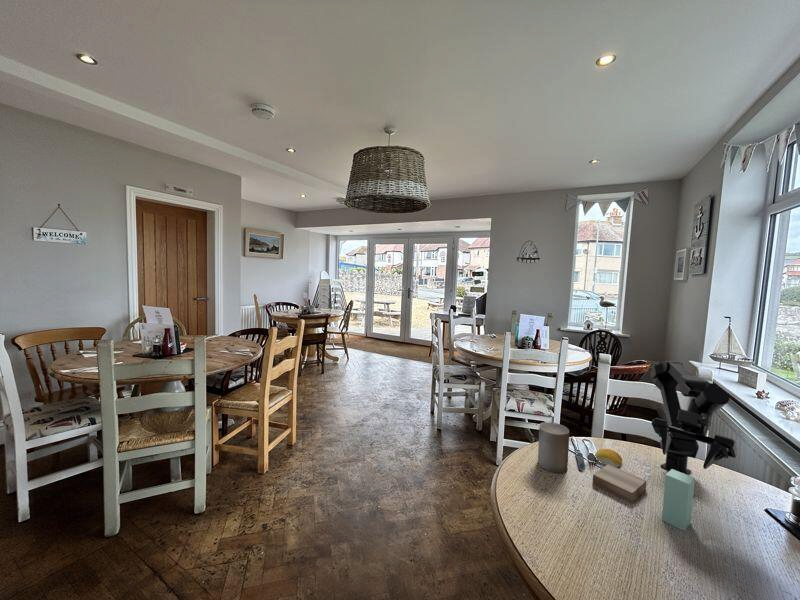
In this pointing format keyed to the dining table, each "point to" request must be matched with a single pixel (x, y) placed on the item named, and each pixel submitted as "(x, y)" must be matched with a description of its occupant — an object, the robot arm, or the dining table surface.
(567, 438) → the pillar candle
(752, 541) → the dining table surface
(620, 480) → the walnut base
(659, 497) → the dining table surface
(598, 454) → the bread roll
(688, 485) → the pillar
